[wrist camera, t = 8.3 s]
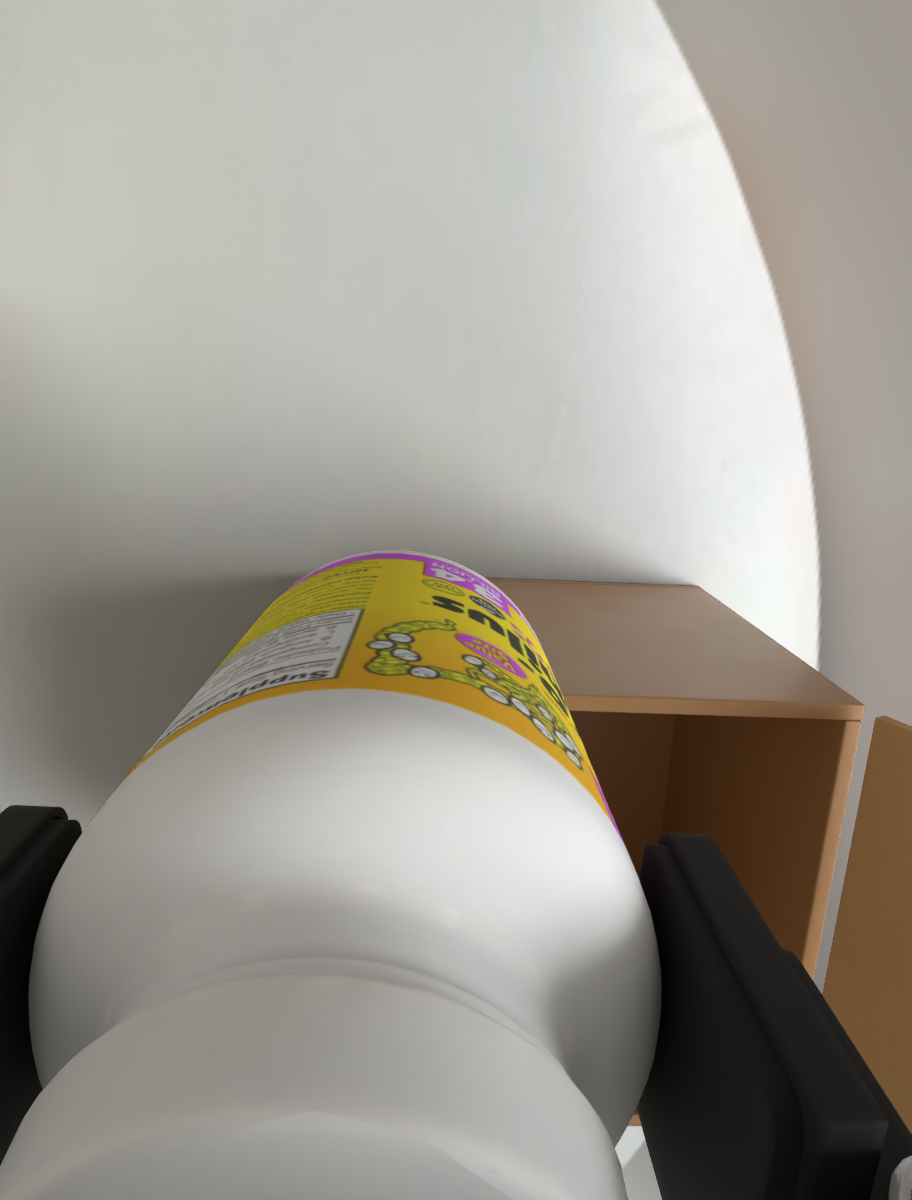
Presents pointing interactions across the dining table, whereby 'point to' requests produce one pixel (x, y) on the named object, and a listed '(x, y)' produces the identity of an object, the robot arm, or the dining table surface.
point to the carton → (705, 736)
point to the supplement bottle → (348, 926)
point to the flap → (879, 920)
